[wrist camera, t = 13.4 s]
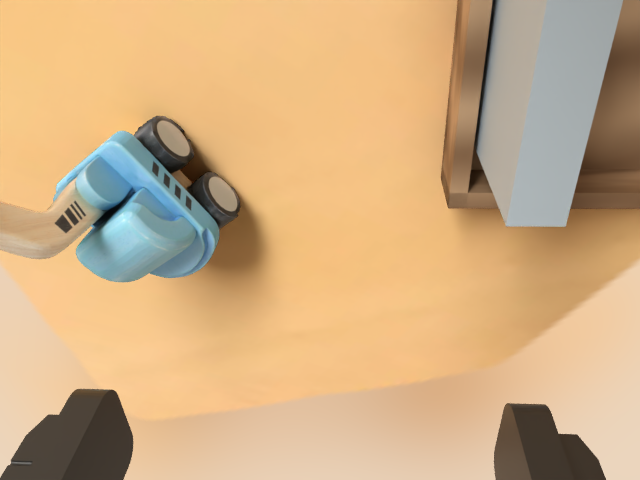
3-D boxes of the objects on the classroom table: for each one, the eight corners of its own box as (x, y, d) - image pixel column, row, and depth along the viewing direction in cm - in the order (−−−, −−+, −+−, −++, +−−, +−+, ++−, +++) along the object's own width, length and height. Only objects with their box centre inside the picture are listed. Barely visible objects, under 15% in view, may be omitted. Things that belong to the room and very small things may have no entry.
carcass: (471, -144, 30) (488, -147, 26) (738, -157, 29) (800, -162, 25) (440, 178, 41) (449, 212, 37) (632, 177, 40) (663, 212, 36)
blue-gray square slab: (493, -60, 31) (552, -30, 21) (546, -62, 31) (631, -32, 21) (469, 134, 38) (505, 226, 28) (513, 134, 38) (565, 226, 28)
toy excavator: (94, 30, 37) (-75, 128, 23) (254, 204, 44) (199, 362, 30) (21, 101, 40) (-167, 225, 26) (180, 252, 47) (100, 415, 33)
